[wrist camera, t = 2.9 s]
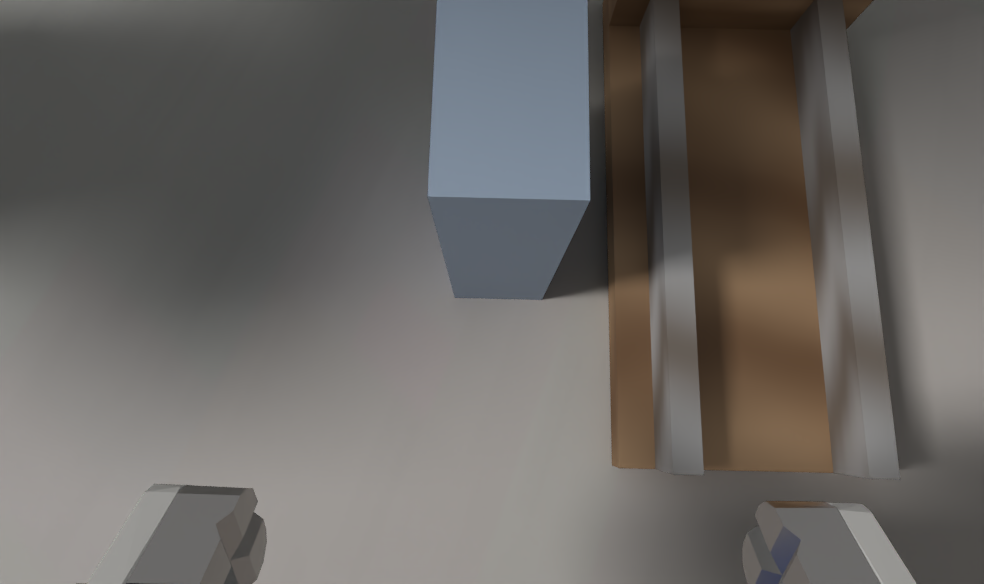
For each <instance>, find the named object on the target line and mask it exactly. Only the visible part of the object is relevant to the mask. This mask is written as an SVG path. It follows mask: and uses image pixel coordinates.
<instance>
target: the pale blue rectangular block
mask: <svg viewBox="0 0 984 584" xmlns="http://www.w3.org/2000/svg"><path fill="white" fill-rule="evenodd" d="M428 200H429V204H430V207H431V211H432V215H433V219H434V222H435V226H436V230H437V233H438V237H439V241H440V244H441V248H442V252H443V256H444V259H445V263H446V267H447V270H448V274H449V278H450V281H451V285H452V289H453V293H454V296H455V298H488V299H531V300H542V298H543V296H544V294H545V292H546V290H547V288H548V286H549V284H550V282H551V280H552V278H553V276H554V274H555V272H556V270H557V268H558V266H559V264H560V262H561V260H562V257H563V255H564V253H565V251H566V249H567V247H568V245H569V243H570V241H571V239H572V237H573V235H574V233H575V231H576V229H577V227H578V225H579V223H580V221H581V218H582V216H583V214H584V212H585V210H586V208H587V206H588V204H589V202H590V143H589V73H588V3H587V0H437V10H436V31H435V52H434V73H433V93H432V114H431V135H430V156H429V176H428Z"/></svg>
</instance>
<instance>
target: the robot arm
mask: <svg viewBox="0 0 984 584" xmlns="http://www.w3.org/2000/svg"><path fill="white" fill-rule="evenodd" d="M257 503H258V500H257V498H256V495H255V492H254V490H253V488H235V487H214V486H194V485H171V484H154V485H153V486H151V487H150V488H149V489H148V490H147V491H145V492H144V493H143V495H142V496H141V498H140V500H139V501H138V503H137V504H136V506H135V507H134V509H133V511H132V512H131V514H130V515H129V517H128V519H127V520H126V522H125V523H124V525H123V526H122V528H121V530H120V531H119V533H118V534H117V536H116V538H115V539H114V541H113V542H112V544H111V545H110V547H109V549H108V550H107V552H106V553H105V555H104V557H103V558H102V560H101V561H100V563H99V565H98V566H97V568H96V569H95V571H94V572H93V574H92V576H91V577H90V579H89V580H88V582H87V583H76V584H252V583H254V582H255V581H256V580H257V578H258V575H259V573H260V570H261V567H262V564H263V561H264V555H265V549H266V544H267V537H266V527H265V523H264V520H263V519H262V518H261V517H260V516H258V515H257V514H256V513H254V510H255V508H256V505H257ZM755 517H756V520H757V522H758V524H759V525H758V526H756V527H755V528H753V529H751V530H750V531H748V532H747V534H746V537H745V539H744V542H743V545H742V564H743V568H744V573H745V577H746V580H747V583H748V584H917V583H916V581H915V580H914V578H913V577H912V575H911V574H910V572H909V570H908V569H907V567H906V566H905V564H904V563H903V561H902V559H901V558H900V556H899V555H898V553H897V552H896V550H895V548H894V547H893V545H892V544H891V542H890V541H889V539H888V537H887V536H886V534H885V533H884V531H883V530H882V528H881V526H880V525H879V523H878V522H877V520H876V519H875V517H874V515H873V514H872V512H871V511H870V510H869V509H868V508H867V507H866V506H864V505H863V504H859V503H826V502H808V501H765V502H763V503H762V504H760V505H759V506H758V509H757V511H756V513H755Z"/></svg>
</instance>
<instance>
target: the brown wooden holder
mask: <svg viewBox="0 0 984 584" xmlns="http://www.w3.org/2000/svg"><path fill="white" fill-rule="evenodd" d="M872 1H873V0H604V1H603V50H604V99H605V147H606V195H607V243H608V291H609V340H610V388H611V436H612V465H613V466H615V467H618V468H638V469H657V470H660V471H664V472H667V473H670V474H673V475H704V470H728V471H774V472H819V473H838V474H843V475H849V476H855V477H861V478H867V479H895V480H900V472H899V463H898V455H897V447H896V438H895V430H894V422H893V414H892V405H891V397H890V389H889V380H888V372H887V364H886V356H885V347H884V339H883V331H882V322H881V314H880V306H879V298H878V289H877V281H876V273H875V264H874V256H873V248H872V240H871V231H870V223H869V215H868V206H867V198H866V190H865V182H864V173H863V165H862V157H861V148H860V140H859V132H858V124H857V115H856V107H855V99H854V90H853V82H852V74H851V66H850V57H849V49H848V41H847V32H846V29H847V28H848V27H849V26H850V25H851V24H852V23H853V22H854V21H855V20H856V19H857V17H858V16H859V15H860V14H861V13H862V12H863V11H864V10H865V9H866V8H867V7H868V6H869V5H870V4H871V2H872Z"/></svg>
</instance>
